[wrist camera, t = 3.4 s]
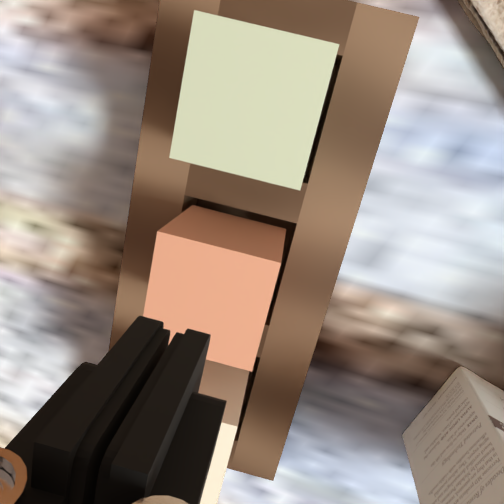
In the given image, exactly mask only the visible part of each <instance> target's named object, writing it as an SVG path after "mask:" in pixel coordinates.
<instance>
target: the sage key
mask: <svg viewBox="0 0 504 504" xmlns="http://www.w3.org/2000/svg"><path fill="white" fill-rule="evenodd" d="M338 48H339V44H336V43H332V42H328V41H323V40H319V39H315V38H311V37H306V36H302V35H298V34H294V33H289V32H285V31H281V30H277V29H273V28H268V27H264V26H260V25H256V24H251V23H247V22H243V21H239V20H234V19H230V18H226V17H222V16H217V15H213V14H209V13H205V12H201V11H196V10H194V14H193V20H192V26H191V32H190V38H189V44H188V50H187V56H186V62H185V67H184V73H183V79H182V85H181V91H180V97H179V103H178V109H177V115H176V121H175V127H174V133H173V139H172V145H171V150H170V156H169V158H172V159H176V160H180V161H184V162H188V163H192V164H196V165H200V166H204V167H208V168H212V169H216V170H220V171H224V172H228V173H232V174H236V175H240V176H244V177H248V178H252V179H256V180H260V181H264V182H268V183H272V184H276V185H280V186H284V187H288V188H292V189H296V190H301V186H302V182H303V178H304V175H305V171H306V167H307V163H308V160H309V156H310V152H311V149H312V145H313V141H314V137H315V134H316V130H317V126H318V122H319V119H320V115H321V111H322V108H323V104H324V100H325V96H326V93H327V89H328V85H329V81H330V78H331V74H332V70H333V67H334V63H335V59H336V55H337V52H338Z"/></svg>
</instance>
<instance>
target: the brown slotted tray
mask: <svg viewBox="0 0 504 504" xmlns="http://www.w3.org/2000/svg"><path fill="white" fill-rule="evenodd" d="M194 10H196V11H201V12H205V13H209V14H213V15H217V16H222V17H226V18H230V19H234V20H239V21H243V22H247V23H251V24H256V25H260V26H264V27H268V28H273V29H277V30H281V31H285V32H289V33H294V34H298V35H302V36H306V37H311V38H315V39H319V40H323V41H328V42H332V43H336V44H339V48H338V52H337V55H336V59H335V63H334V67H333V70H332V74H331V78H330V81H329V85H328V89H327V93H326V96H325V100H324V104H323V108H322V111H321V115H320V119H319V122H318V126H317V130H316V134H315V137H314V141H313V145H312V149H311V152H310V156H309V160H308V163H307V167H306V171H305V175H304V178H303V182H302V186H301V190H296V189H292V188H288V187H284V186H280V185H276V184H272V183H268V182H264V181H260V180H256V179H252V178H248V177H244V176H240V175H236V174H232V173H228V172H224V171H220V170H216V169H212V168H208V167H204V166H200V165H196V164H192V163H188V162H184V161H180V160H176V159H172V158H169V156H170V150H171V145H172V139H173V133H174V127H175V121H176V115H177V109H178V103H179V97H180V91H181V85H182V79H183V73H184V67H185V62H186V56H187V50H188V44H189V38H190V32H191V26H192V20H193V14H194ZM418 20H419V17H417V16H413V15H409V14H404V13H400V12H396V11H391V10H387V9H383V8H378V7H374V6H370V5H365V4H361V3H357V2H352V1H348V0H160V2H159V9H158V16H157V23H156V29H155V36H154V43H153V50H152V57H151V64H150V71H149V78H148V84H147V91H146V98H145V105H144V112H143V119H142V126H141V132H140V139H139V146H138V153H137V160H136V167H135V174H134V181H133V187H132V194H131V201H130V208H129V215H128V222H127V229H126V235H125V242H124V249H123V256H122V263H121V270H120V277H119V284H118V290H117V297H116V304H115V311H114V318H113V325H112V332H111V338H110V345H109V351H110V350H111V348H112V347H113V346H114V345H115V344H116V342H117V341H118V340H119V339H120V338H121V336H122V335H123V334H124V333H125V332H126V330H127V329H128V328H129V327H130V325H131V324H132V323H133V322H134V321H135V319H136V318H137V317H138V316H143V313H144V307H145V301H146V295H147V289H148V283H149V277H150V272H151V266H152V260H153V254H154V248H155V242H156V236H157V231H158V230H160V229H161V228H162V227H164V226H165V225H166V224H168V223H169V222H170V221H172V220H173V219H174V218H176V217H177V216H178V215H180V214H181V213H182V212H184V211H185V210H186V209H188V208H189V207H190V206H192V205H195V206H199V207H203V208H207V209H210V210H214V211H218V212H222V213H226V214H230V215H234V216H238V217H242V218H246V219H250V220H254V221H258V222H262V223H266V224H269V225H273V226H277V227H281V228H285V229H286V234H285V241H284V248H283V255H282V261H281V266H280V270H279V273H278V277H277V281H276V284H275V288H274V292H273V296H272V299H271V303H270V307H269V310H268V314H267V318H266V322H265V325H264V329H263V333H262V337H261V340H260V344H259V348H258V351H257V355H256V359H255V363H254V366H253V370H252V372H251V371H249V376H248V380H247V385H246V390H245V395H244V399H243V404H242V409H241V413H240V418H239V423H238V427H237V431H236V435H235V439H234V442H233V446H232V450H231V453H230V457H229V461H228V465H227V468H229V469H233V470H236V471H240V472H243V473H247V474H251V475H254V476H258V477H261V478H265V479H269V480H272V481H273V479H274V476H275V473H276V470H277V467H278V464H279V460H280V457H281V454H282V451H283V448H284V445H285V441H286V438H287V435H288V432H289V429H290V426H291V422H292V419H293V416H294V413H295V410H296V406H297V403H298V400H299V397H300V394H301V391H302V387H303V384H304V381H305V378H306V375H307V372H308V368H309V365H310V362H311V359H312V356H313V353H314V349H315V346H316V343H317V340H318V337H319V334H320V330H321V327H322V324H323V321H324V318H325V315H326V311H327V308H328V305H329V302H330V299H331V295H332V292H333V289H334V286H335V283H336V280H337V276H338V273H339V270H340V267H341V264H342V261H343V257H344V254H345V251H346V248H347V245H348V242H349V238H350V235H351V232H352V229H353V226H354V223H355V219H356V216H357V213H358V210H359V207H360V203H361V200H362V197H363V194H364V191H365V188H366V184H367V181H368V178H369V175H370V172H371V169H372V165H373V162H374V159H375V156H376V153H377V150H378V146H379V143H380V140H381V137H382V134H383V131H384V127H385V124H386V121H387V118H388V115H389V112H390V108H391V105H392V102H393V99H394V96H395V92H396V89H397V86H398V83H399V80H400V77H401V73H402V70H403V67H404V64H405V61H406V58H407V54H408V51H409V48H410V45H411V42H412V39H413V35H414V32H415V29H416V26H417V23H418Z"/></svg>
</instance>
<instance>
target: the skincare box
mask: <svg viewBox="0 0 504 504" xmlns="http://www.w3.org/2000/svg"><path fill="white" fill-rule="evenodd" d="M402 438H403V441H404V444H405V448H406V452H407V456H408V459H409V463H410V467H411V471H412V475H413V478H414V482H415V486H416V490H417V494H418V498H419V502H420V504H504V391H503V390H501V389H499V388H498V387H496V386H494V385H492V384H491V383H489V382H487V381H486V380H484V379H482V378H481V377H479V376H478V375H476V374H475V373H473V372H472V371H470V370H468V369H466V368H465V367H461V366H460V367H458V368H457V369H456V370H455V371H454V372H453V374H452V375H451V376H450V377H449V378H448V380H447V381H446V382H445V383H444V384H443V386H442V387H441V388H440V389H439V390H438V392H437V393H436V394H435V395H434V396H433V398H432V399H431V400H430V401H429V403H428V404H427V405H426V406H425V407H424V409H423V410H422V411H421V412H420V413H419V414H418V416H417V417H416V418H415V419H414V421H413V422H412V423H411V424H410V425H409V427H408V428H407V429H406V430H405V432H404V433H403V435H402Z"/></svg>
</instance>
